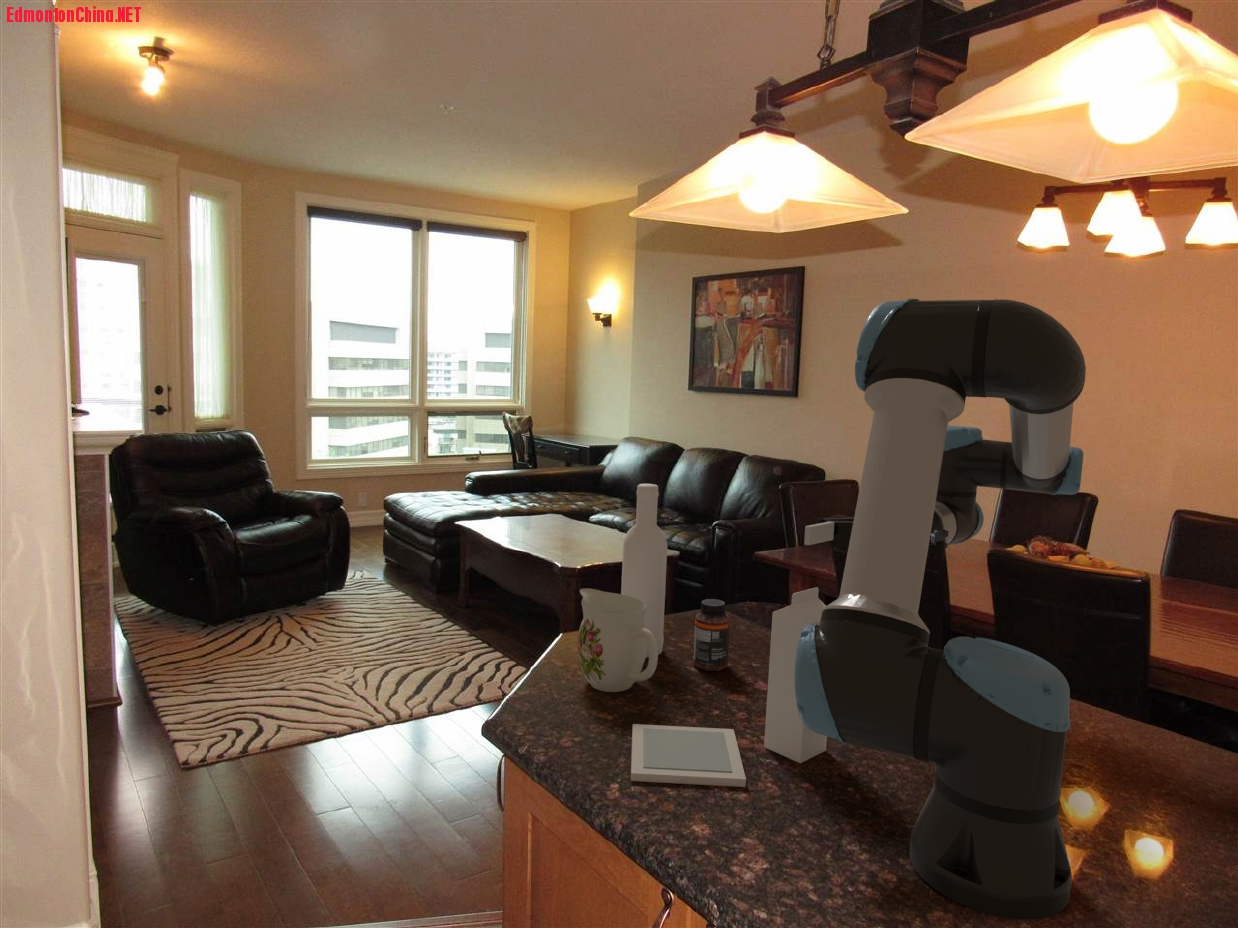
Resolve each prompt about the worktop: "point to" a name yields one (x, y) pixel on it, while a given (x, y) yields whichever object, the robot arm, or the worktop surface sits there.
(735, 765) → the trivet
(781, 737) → the milk
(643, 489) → the bottle
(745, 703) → the worktop surface
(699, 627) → the supplement bottle
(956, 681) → the robot arm
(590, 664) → the pitcher
